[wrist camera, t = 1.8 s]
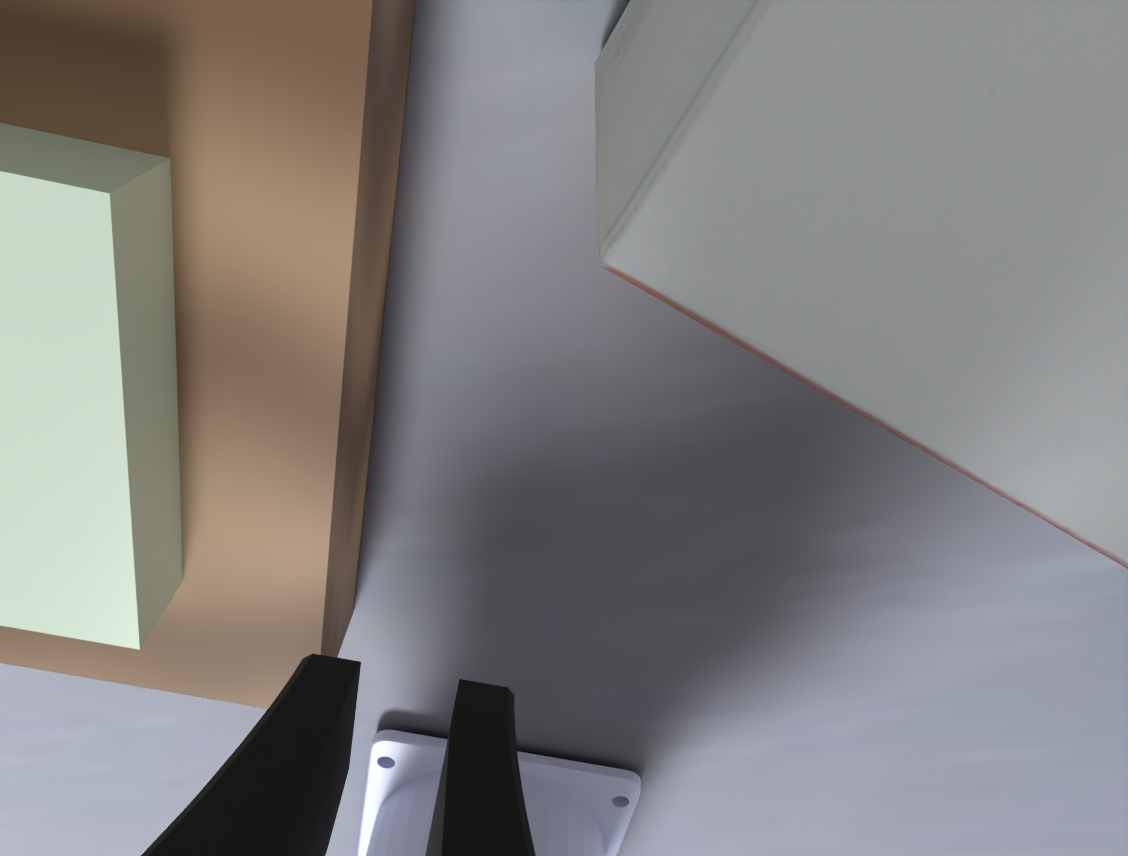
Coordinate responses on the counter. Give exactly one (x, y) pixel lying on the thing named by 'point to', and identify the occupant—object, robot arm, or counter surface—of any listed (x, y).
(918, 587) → the counter surface
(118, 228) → the sage green block
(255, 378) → the brown flat block
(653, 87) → the small box
